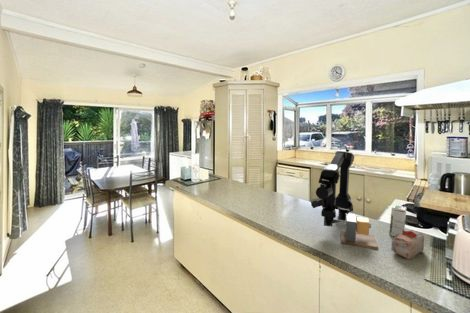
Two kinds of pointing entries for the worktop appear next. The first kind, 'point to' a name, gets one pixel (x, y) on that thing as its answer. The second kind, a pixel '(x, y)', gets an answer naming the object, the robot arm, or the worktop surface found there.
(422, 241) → the food item
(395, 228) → the syrup box
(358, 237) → the stand
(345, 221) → the shaft
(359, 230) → the block
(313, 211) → the worktop surface
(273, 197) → the worktop surface
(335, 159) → the robot arm
